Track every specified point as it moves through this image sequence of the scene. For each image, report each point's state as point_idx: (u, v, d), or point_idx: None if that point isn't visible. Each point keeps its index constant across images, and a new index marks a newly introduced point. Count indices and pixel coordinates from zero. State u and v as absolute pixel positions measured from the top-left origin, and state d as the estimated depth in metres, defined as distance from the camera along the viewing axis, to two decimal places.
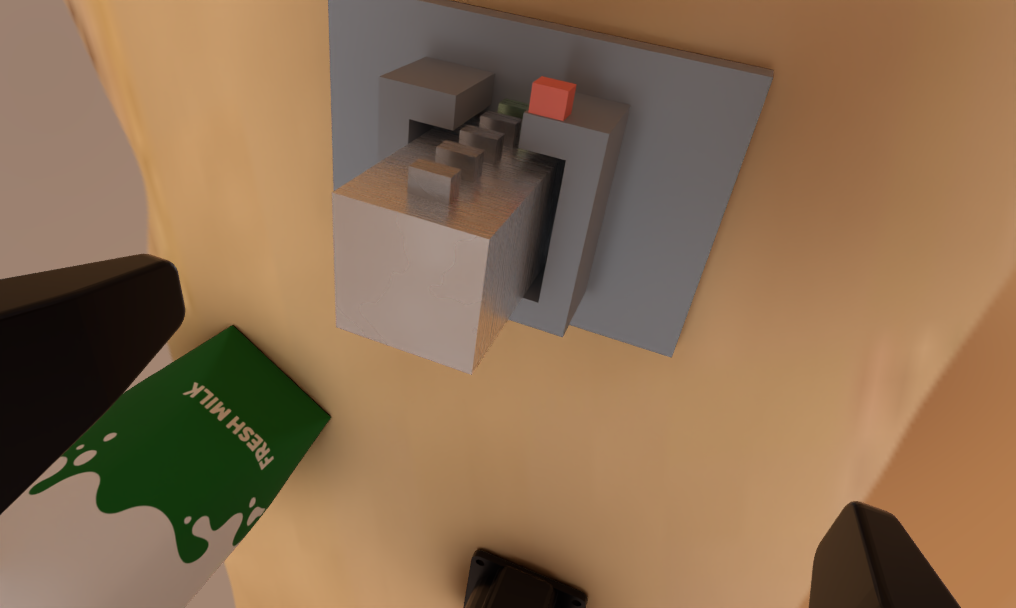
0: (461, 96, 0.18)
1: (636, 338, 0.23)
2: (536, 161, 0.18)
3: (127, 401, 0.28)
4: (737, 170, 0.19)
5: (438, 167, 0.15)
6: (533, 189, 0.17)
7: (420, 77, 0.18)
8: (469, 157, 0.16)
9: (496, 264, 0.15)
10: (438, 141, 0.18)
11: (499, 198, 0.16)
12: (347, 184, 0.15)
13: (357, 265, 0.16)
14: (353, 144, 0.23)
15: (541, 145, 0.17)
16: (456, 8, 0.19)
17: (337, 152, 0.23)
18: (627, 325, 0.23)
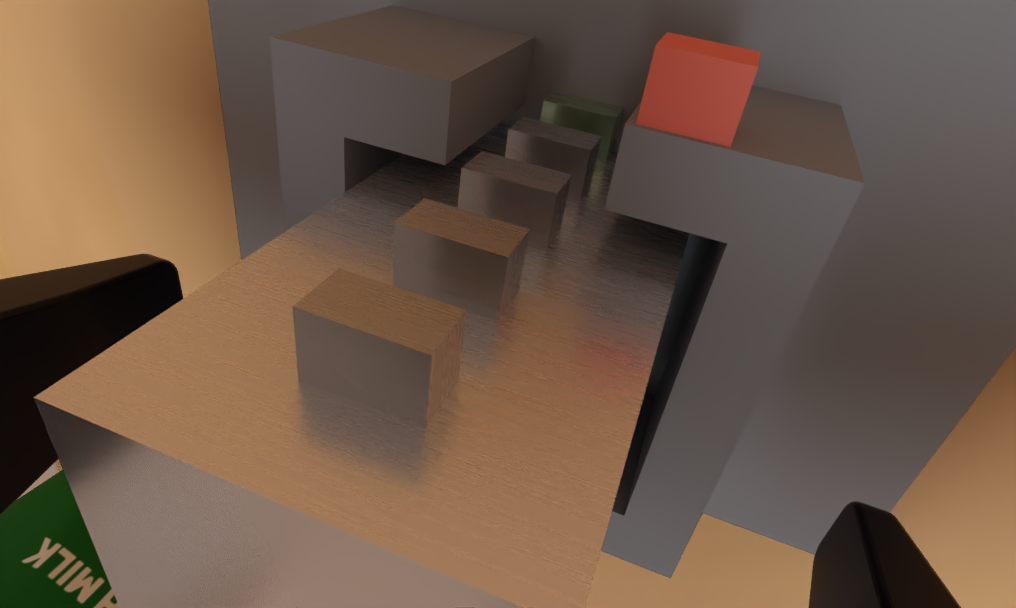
0: (464, 83, 0.07)
1: (782, 530, 0.13)
2: (641, 238, 0.08)
3: None
4: None
5: (393, 306, 0.05)
6: (660, 333, 0.06)
7: (368, 42, 0.08)
8: (489, 255, 0.06)
9: None
10: (411, 188, 0.08)
11: (579, 381, 0.05)
12: (109, 354, 0.05)
13: (158, 579, 0.05)
14: (266, 175, 0.13)
15: (665, 205, 0.07)
16: None
17: (240, 189, 0.13)
18: (768, 509, 0.12)
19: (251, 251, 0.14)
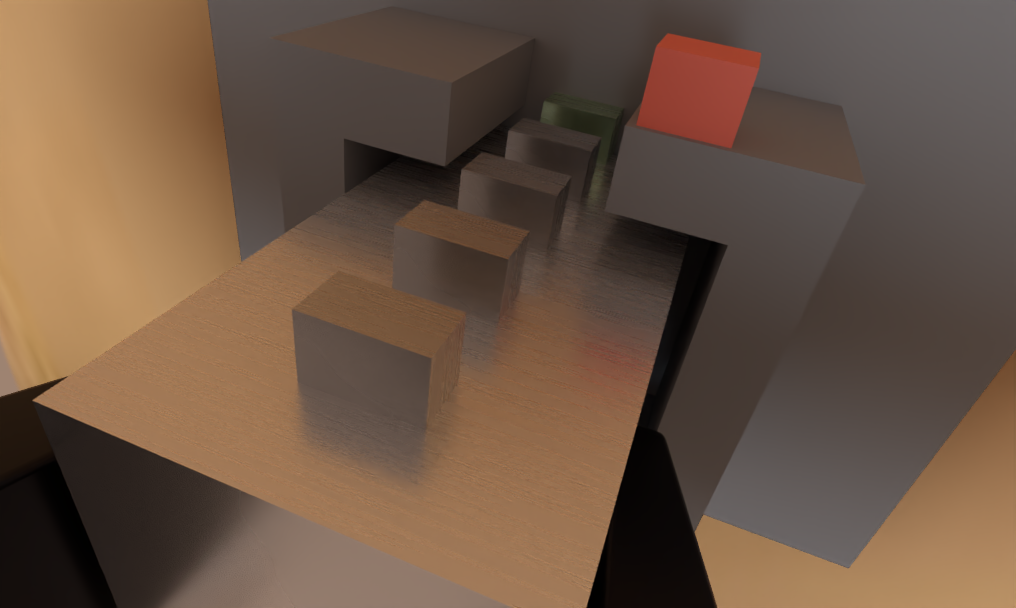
0: (464, 84, 0.07)
1: (783, 531, 0.13)
2: (641, 240, 0.08)
3: None
4: None
5: (393, 309, 0.05)
6: (661, 335, 0.06)
7: (369, 43, 0.08)
8: (489, 258, 0.06)
9: None
10: (411, 189, 0.08)
11: (579, 383, 0.05)
12: (108, 356, 0.05)
13: (157, 582, 0.05)
14: (266, 176, 0.13)
15: (665, 207, 0.07)
16: None
17: (240, 190, 0.13)
18: (768, 510, 0.12)
19: (251, 252, 0.14)
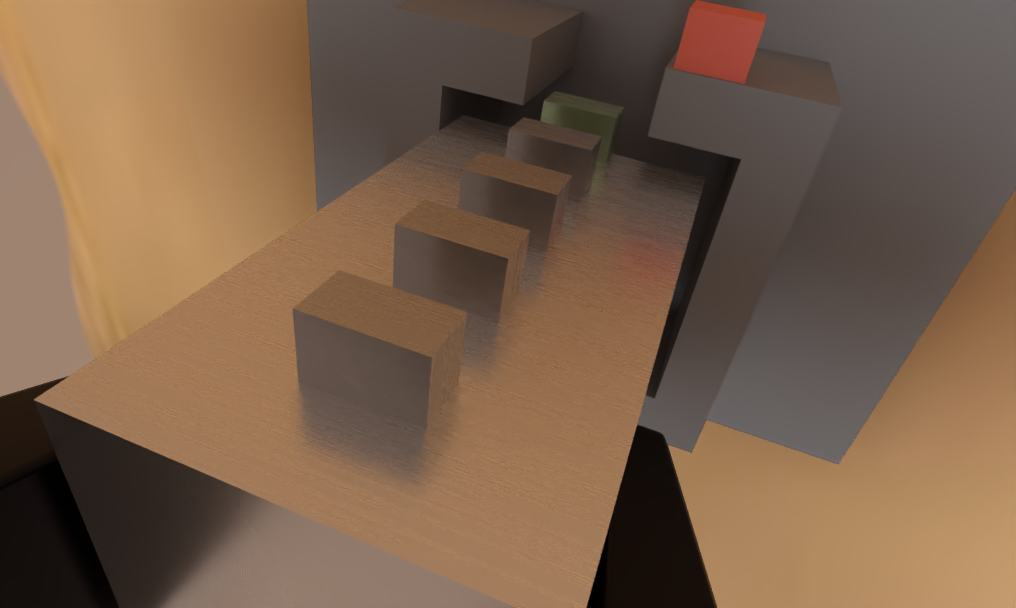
0: (539, 41, 0.10)
1: (783, 434, 0.15)
2: (642, 239, 0.08)
3: None
4: None
5: (395, 309, 0.05)
6: (661, 334, 0.06)
7: (461, 11, 0.10)
8: (490, 258, 0.06)
9: None
10: (411, 188, 0.08)
11: (580, 383, 0.05)
12: (109, 356, 0.05)
13: (159, 581, 0.05)
14: (346, 133, 0.15)
15: (694, 131, 0.09)
16: None
17: (321, 147, 0.15)
18: (771, 415, 0.15)
19: (326, 202, 0.16)
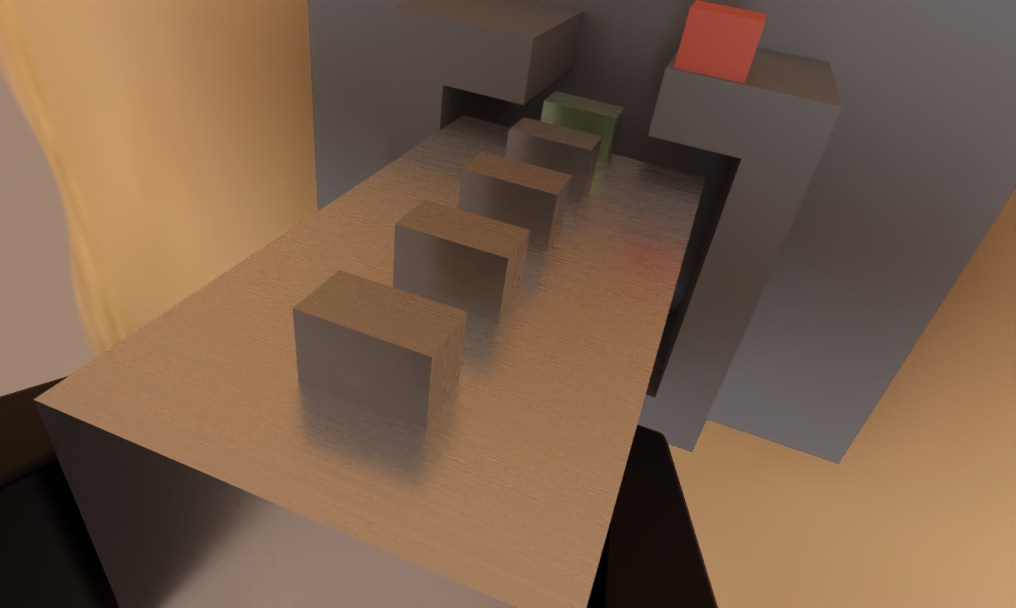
0: (540, 41, 0.10)
1: (783, 433, 0.15)
2: (642, 239, 0.08)
3: None
4: None
5: (393, 309, 0.05)
6: (661, 334, 0.06)
7: (461, 11, 0.10)
8: (490, 257, 0.06)
9: None
10: (411, 188, 0.08)
11: (580, 383, 0.05)
12: (109, 355, 0.05)
13: (159, 581, 0.05)
14: (346, 133, 0.15)
15: (694, 130, 0.09)
16: None
17: (322, 147, 0.15)
18: (771, 414, 0.15)
19: (327, 202, 0.16)
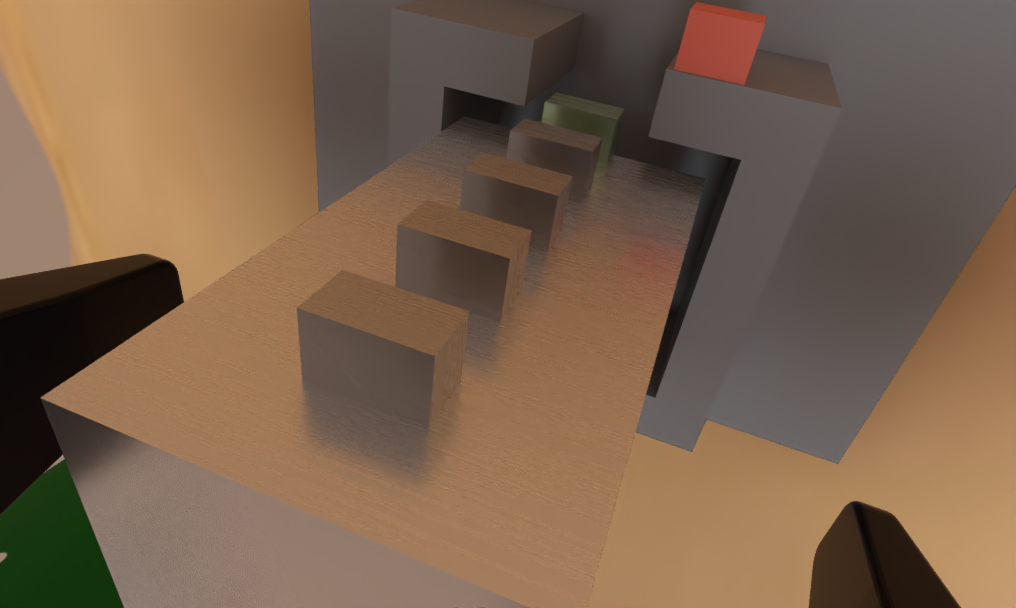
0: (541, 43, 0.10)
1: (783, 433, 0.15)
2: (643, 239, 0.08)
3: (32, 497, 0.20)
4: None
5: (396, 309, 0.05)
6: None
7: (463, 13, 0.10)
8: (493, 257, 0.06)
9: None
10: (413, 189, 0.08)
11: (581, 383, 0.05)
12: (114, 354, 0.05)
13: (163, 578, 0.05)
14: (347, 134, 0.15)
15: (694, 132, 0.09)
16: None
17: (323, 147, 0.15)
18: (770, 414, 0.15)
19: (328, 202, 0.16)
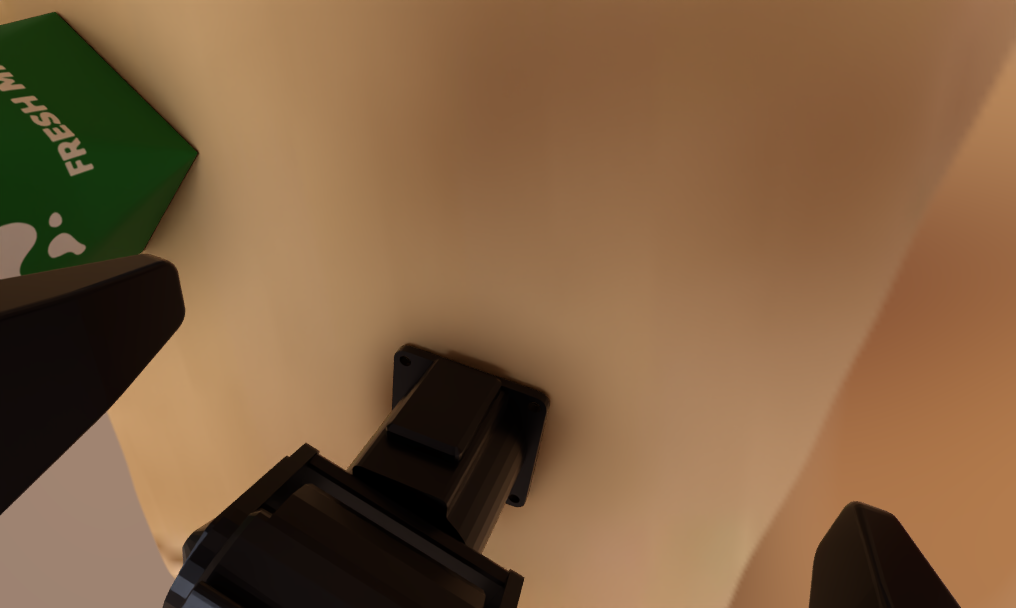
0: None
1: None
2: None
3: None
4: None
5: None
6: None
7: None
8: None
9: None
10: None
11: None
12: None
13: None
14: None
15: None
16: None
17: None
18: None
19: None
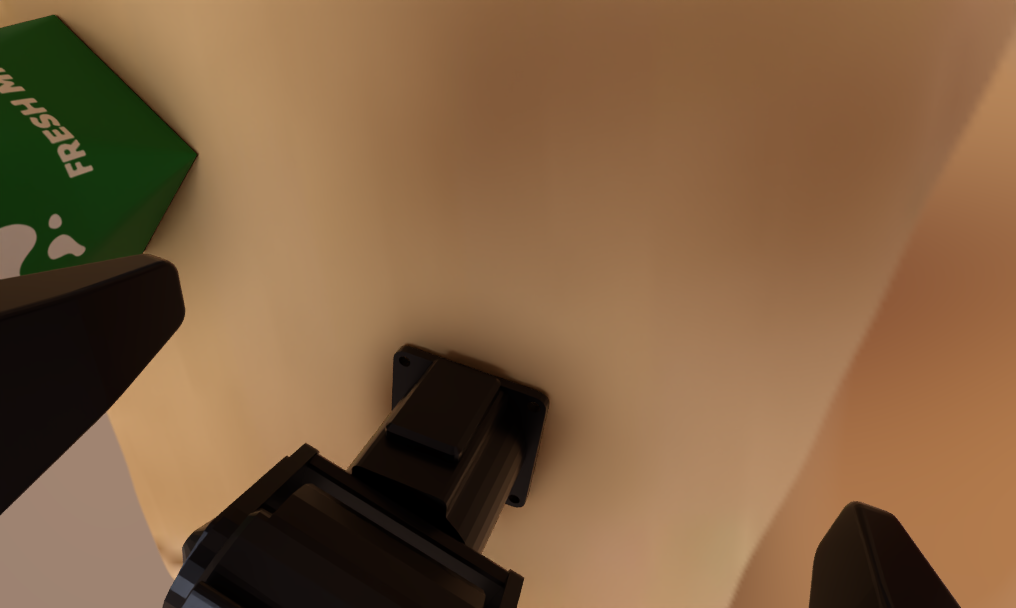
0: None
1: None
2: None
3: None
4: None
5: None
6: None
7: None
8: None
9: None
10: None
11: None
12: None
13: None
14: None
15: None
16: None
17: None
18: None
19: None
